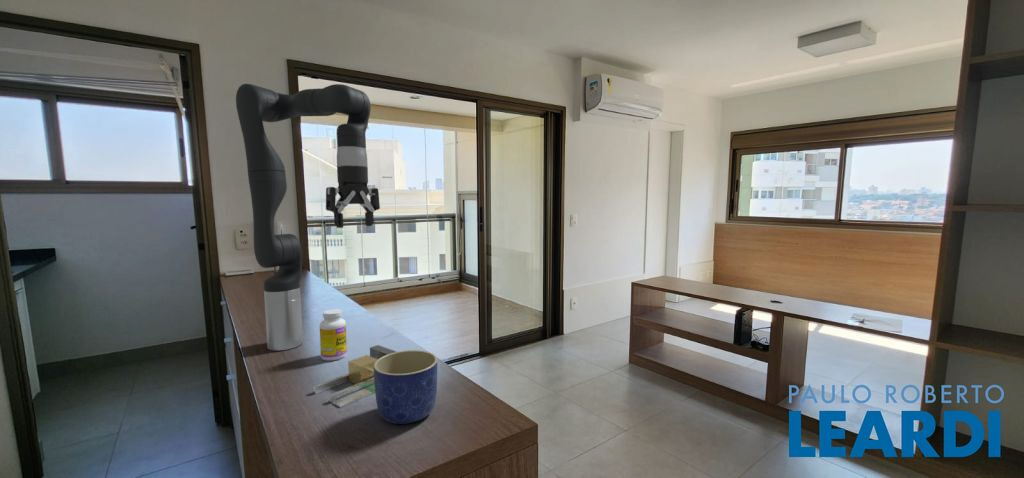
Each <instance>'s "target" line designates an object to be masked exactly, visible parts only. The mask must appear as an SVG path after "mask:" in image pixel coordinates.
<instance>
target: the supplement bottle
mask: <svg viewBox="0 0 1024 478" xmlns="http://www.w3.org/2000/svg"><path fill="white" fill-rule="evenodd" d="M342 315H343V311H342V310H341V309H337V308H336V309H328V310H324V311H323V312H322V317H323V320H322V321H321V322H320V323H319V344H320V345H319V347H320V358H321V360H323V361H330V362H331V361H338V360H340V359H341V360H342V359H344V358H345V357H346V356H347V354H348V346H347V345H348V342H347V340H348V339H347V322H346V320H345V319H344V318H342Z"/></svg>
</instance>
